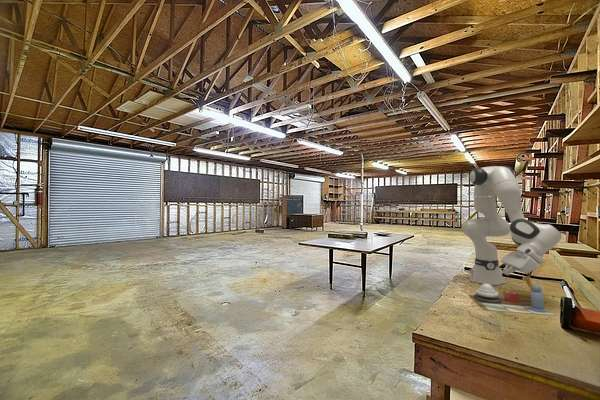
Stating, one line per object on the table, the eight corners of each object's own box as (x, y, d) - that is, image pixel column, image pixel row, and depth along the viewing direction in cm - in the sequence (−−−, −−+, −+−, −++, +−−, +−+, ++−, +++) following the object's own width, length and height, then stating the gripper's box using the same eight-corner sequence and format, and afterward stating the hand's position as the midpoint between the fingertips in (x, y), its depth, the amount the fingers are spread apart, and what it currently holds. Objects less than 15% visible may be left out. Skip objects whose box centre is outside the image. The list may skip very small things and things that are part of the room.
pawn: (527, 307, 118) (526, 282, 119) (541, 308, 117) (540, 283, 117) (533, 311, 113) (532, 286, 114) (548, 312, 112) (547, 287, 112)
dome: (473, 291, 136) (473, 280, 136) (493, 292, 133) (493, 281, 133) (480, 296, 127) (479, 285, 127) (502, 298, 124) (501, 286, 125)
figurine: (539, 304, 127) (538, 278, 127) (523, 301, 131) (521, 276, 131) (541, 299, 132) (540, 275, 133) (525, 297, 137) (524, 273, 137)
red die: (504, 299, 130) (504, 290, 130) (514, 299, 129) (514, 291, 129) (508, 302, 126) (508, 293, 126) (518, 302, 125) (518, 293, 125)
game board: (467, 297, 138) (467, 292, 138) (527, 301, 130) (527, 296, 131) (483, 313, 116) (483, 308, 116) (556, 319, 109) (556, 313, 109)
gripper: (511, 245, 137) (490, 264, 139) (534, 252, 117) (509, 273, 119) (521, 254, 135) (500, 273, 137) (547, 262, 116) (521, 284, 118)
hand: (504, 273), depth 128 cm, fingers closed
